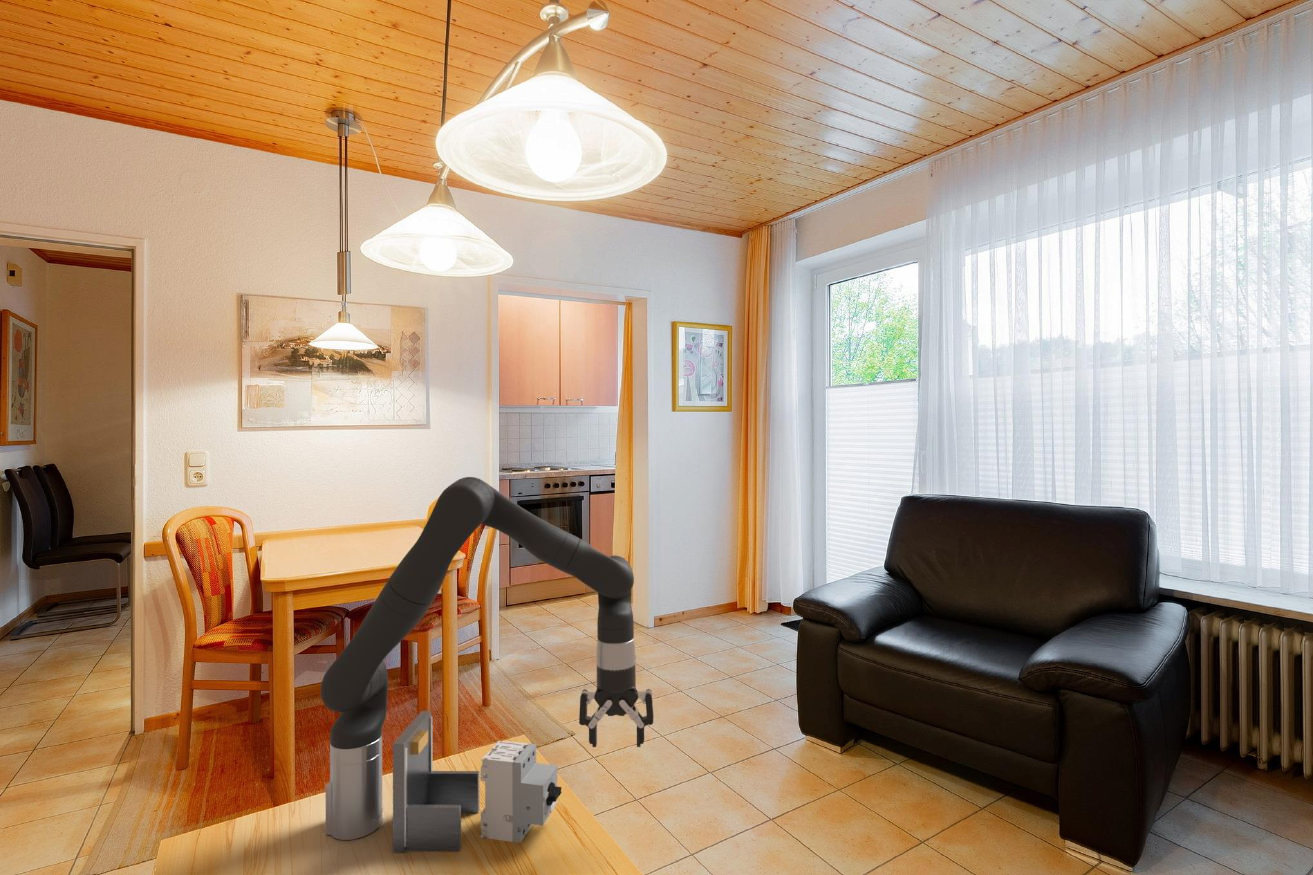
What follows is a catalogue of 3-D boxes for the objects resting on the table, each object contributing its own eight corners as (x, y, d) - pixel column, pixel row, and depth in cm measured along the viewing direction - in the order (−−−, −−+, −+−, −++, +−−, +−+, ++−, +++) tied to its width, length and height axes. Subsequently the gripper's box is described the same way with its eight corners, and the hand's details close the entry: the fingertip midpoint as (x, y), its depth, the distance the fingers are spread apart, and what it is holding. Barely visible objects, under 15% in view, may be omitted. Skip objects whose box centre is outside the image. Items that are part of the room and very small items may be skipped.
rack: (393, 852, 117) (392, 743, 117) (421, 808, 131) (421, 710, 131) (458, 853, 117) (458, 743, 117) (480, 808, 131) (479, 711, 131)
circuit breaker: (551, 846, 119) (551, 766, 119) (480, 837, 122) (480, 758, 122) (565, 822, 126) (565, 747, 126) (498, 814, 129) (498, 740, 129)
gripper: (576, 668, 120) (577, 755, 120) (652, 668, 120) (653, 754, 120) (581, 655, 128) (582, 736, 128) (653, 654, 128) (654, 736, 128)
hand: (616, 745), depth 124 cm, fingers open, 8 cm apart
